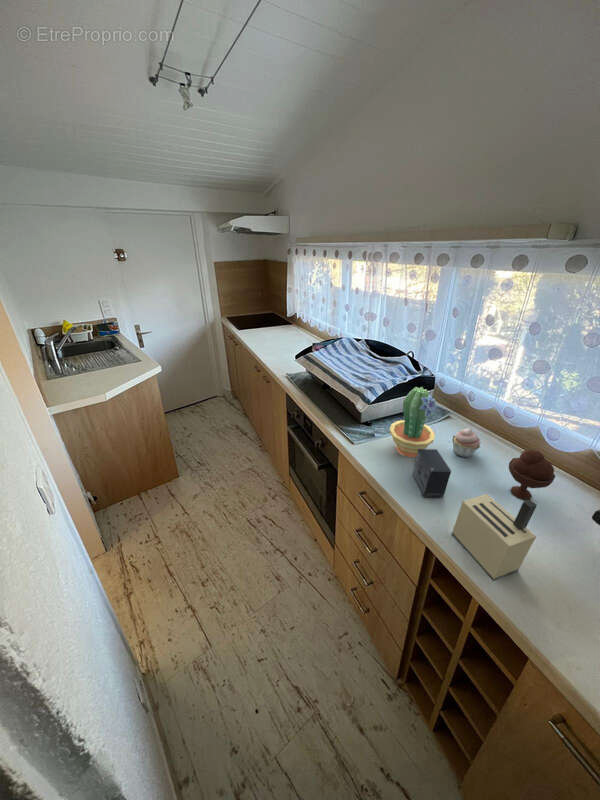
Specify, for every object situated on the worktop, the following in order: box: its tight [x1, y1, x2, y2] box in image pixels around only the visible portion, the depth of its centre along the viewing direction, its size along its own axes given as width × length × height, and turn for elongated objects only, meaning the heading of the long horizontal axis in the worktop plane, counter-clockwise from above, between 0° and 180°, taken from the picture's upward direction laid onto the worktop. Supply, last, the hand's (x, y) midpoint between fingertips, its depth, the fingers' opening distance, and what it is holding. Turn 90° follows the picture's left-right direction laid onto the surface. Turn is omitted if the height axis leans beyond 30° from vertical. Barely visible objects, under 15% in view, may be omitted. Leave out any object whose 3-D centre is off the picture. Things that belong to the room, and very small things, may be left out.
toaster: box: [451, 493, 537, 581], centre depth 73 cm, size 8×13×12 cm, turn 18°
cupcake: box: [451, 428, 481, 458], centre depth 108 cm, size 9×9×10 cm
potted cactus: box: [389, 386, 437, 458], centre depth 106 cm, size 15×15×25 cm
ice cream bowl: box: [508, 448, 556, 501], centre depth 89 cm, size 11×11×15 cm
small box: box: [411, 448, 452, 499], centre depth 93 cm, size 11×6×10 cm, turn 0°
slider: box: [513, 499, 538, 530], centre depth 66 cm, size 2×2×7 cm
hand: (596, 513), depth 53 cm, fingers closed
